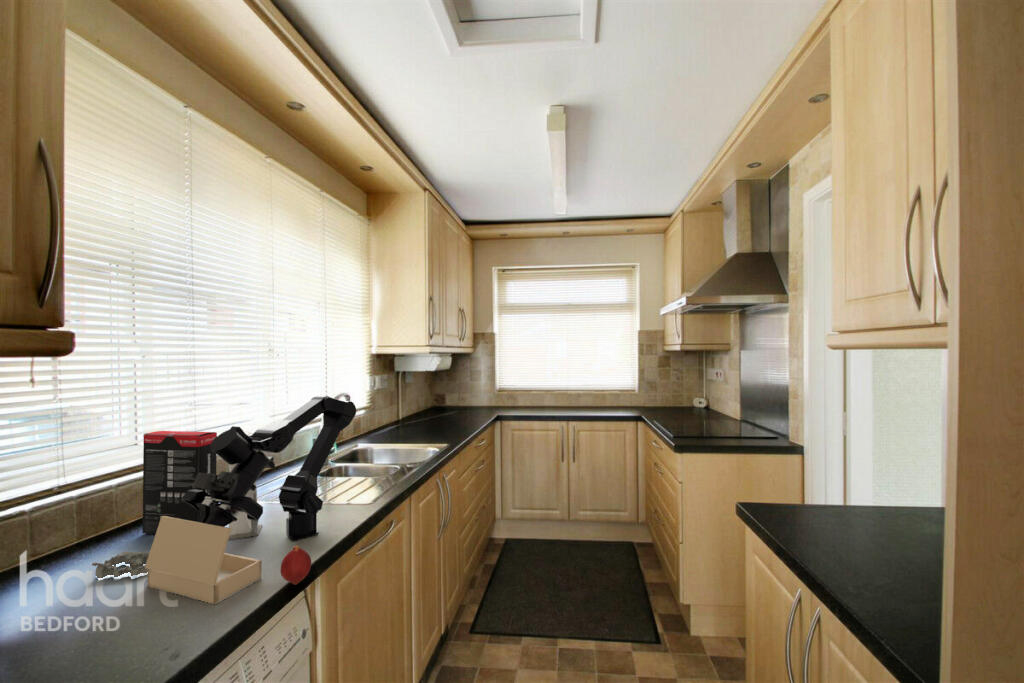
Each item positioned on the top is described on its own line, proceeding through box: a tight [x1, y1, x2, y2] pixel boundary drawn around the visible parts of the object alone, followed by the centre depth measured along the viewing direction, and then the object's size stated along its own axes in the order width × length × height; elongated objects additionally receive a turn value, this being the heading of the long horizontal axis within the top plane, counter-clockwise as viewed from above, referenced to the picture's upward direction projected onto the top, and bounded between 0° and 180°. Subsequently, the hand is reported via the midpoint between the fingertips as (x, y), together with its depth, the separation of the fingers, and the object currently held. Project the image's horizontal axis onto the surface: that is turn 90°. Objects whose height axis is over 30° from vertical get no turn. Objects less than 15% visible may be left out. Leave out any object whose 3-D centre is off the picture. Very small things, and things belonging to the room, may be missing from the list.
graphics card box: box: [142, 430, 218, 535], centre depth 118 cm, size 17×7×27 cm, turn 84°
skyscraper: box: [228, 432, 263, 541], centre depth 118 cm, size 8×8×28 cm
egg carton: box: [91, 550, 150, 578], centre depth 96 cm, size 11×8×4 cm
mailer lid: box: [145, 516, 231, 585], centre depth 88 cm, size 10×20×1 cm
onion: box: [280, 545, 312, 585], centre depth 91 cm, size 6×6×8 cm
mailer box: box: [147, 552, 262, 605], centre depth 92 cm, size 10×20×4 cm, turn 70°
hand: (194, 543), depth 89 cm, fingers closed
